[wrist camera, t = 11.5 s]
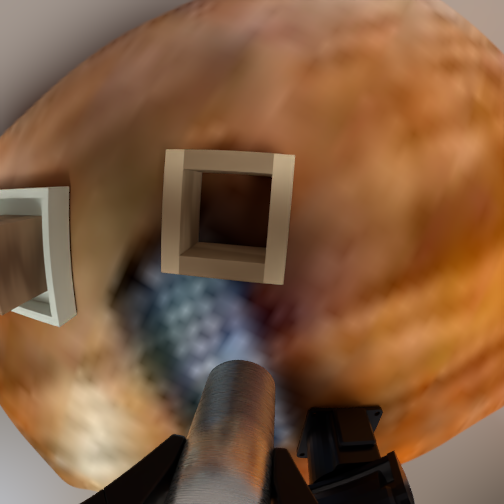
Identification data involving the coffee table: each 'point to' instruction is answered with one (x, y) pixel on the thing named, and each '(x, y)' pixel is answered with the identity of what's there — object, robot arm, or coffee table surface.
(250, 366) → the cylinder
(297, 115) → the coffee table surface
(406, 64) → the coffee table surface
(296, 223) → the coffee table surface
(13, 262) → the walnut block
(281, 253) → the beige square frame
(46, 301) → the tray
